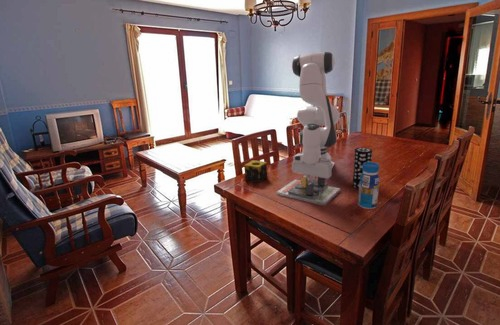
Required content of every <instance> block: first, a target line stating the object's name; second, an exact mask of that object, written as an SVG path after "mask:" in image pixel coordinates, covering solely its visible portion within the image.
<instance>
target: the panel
mask: <svg viewBox="0 0 500 325" xmlns="http://www.w3.org/2000/svg"><path fill="white" fill-rule="evenodd" d="M340 192H341V188H340V187H334V186H330V185H329V183H327V182H325V184H323V185H318V180H317V181H316V180H314V193H313V194H311V195H307V194H306V188H304V187H301V179H300V180H299V179H293V181H292V180H291V181H290V182H289V183H288V184H285V186H282V188H281V189H279V190H277V191H276V195H278V196H281V197H286V198H290V199H292V200H297V201H301V202H307V203H310V204H315V205H318V206H323V207H325V206H326V205H328V204H329V202H331V200H333V198H334V197H336V196H337V195H338V193H340Z"/></svg>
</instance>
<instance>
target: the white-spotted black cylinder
mask: <svg viewBox="0 0 500 325" xmlns="http://www.w3.org/2000/svg"><path fill="white" fill-rule="evenodd" d="M372 156H373V149H371V148H368V147H358V148H357V147H356V148H355V149H354V157H353V158H354V159H353V174H352V175H353V176H352V187H353V188H355V189H358V190H359V182H360V176H361V174H362V173H363V170H362V166H363V163H365V162H372V158H373V157H372Z"/></svg>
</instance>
